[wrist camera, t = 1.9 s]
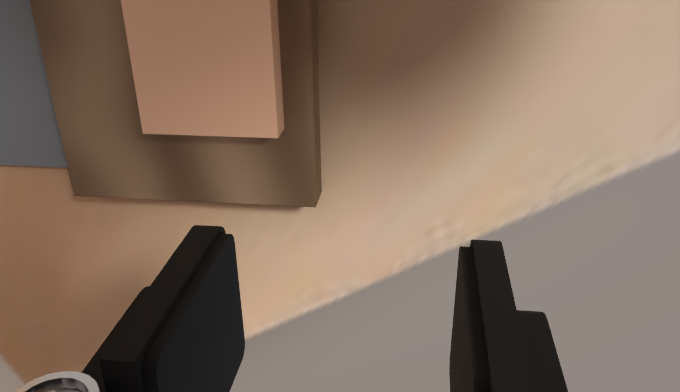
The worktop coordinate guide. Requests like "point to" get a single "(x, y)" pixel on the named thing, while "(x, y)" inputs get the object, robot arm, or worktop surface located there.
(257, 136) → the tile
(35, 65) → the mat
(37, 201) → the worktop surface
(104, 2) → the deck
